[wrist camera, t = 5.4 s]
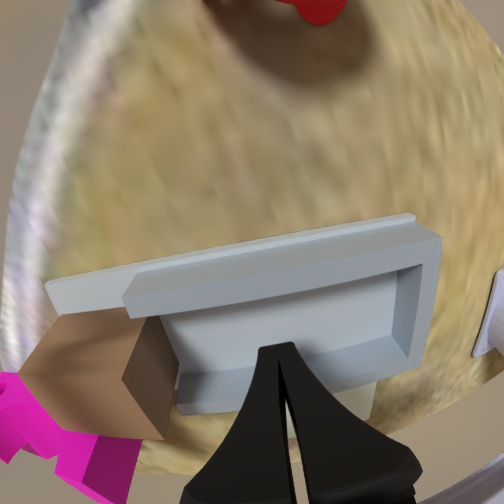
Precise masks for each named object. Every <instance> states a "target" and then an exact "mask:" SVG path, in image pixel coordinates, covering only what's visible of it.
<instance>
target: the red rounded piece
mask: <svg viewBox="0 0 504 504" xmlns="http://www.w3.org/2000/svg"><path fill="white" fill-rule="evenodd" d="M276 1H279V2H283V3H288V4H293V5H295V7H296V9H297V10H298V12H299V13H300V15H301V16H302V17H303V18H304V19H305V20H306V21H307V22H309V23H311V24H314V25H325V24H327V23H329V22H331V21H333V20H334V19H335V18H336V17H337V16H338V15H339V14H340V12H341V11H342V9H343V8H344V6H345V4H346V2H347V0H276Z"/></svg>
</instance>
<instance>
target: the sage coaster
mask: <svg viewBox="0 0 504 504" xmlns="http://www.w3.org/2000/svg"><path fill="white" fill-rule="evenodd" d="M376 384H377V381H376V382H373V383H370V384H367V385H363V386H360V387H356V388H353V389H349V390H345V391H342V392H338V393H334V394H332V395H333V396H334V397H335V398H336V399H337V400H338V401H339V402H340V403H341V404H342V405H344V406H345V407H346V408H347V409H348V410H349V411H351V412H352V413H353V414H354V415H356V416H357V417H358V418H360V419H361V420H363V421H365V420H368V419H369V418H370V414H371V409H372V405H373V400H374V395H375V389H376ZM286 416H287V433H288V439H290V438H296V434H295V431H294V427H293V424H292V420H291V417H290V413H289V410H288V406H287V404H286Z"/></svg>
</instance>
